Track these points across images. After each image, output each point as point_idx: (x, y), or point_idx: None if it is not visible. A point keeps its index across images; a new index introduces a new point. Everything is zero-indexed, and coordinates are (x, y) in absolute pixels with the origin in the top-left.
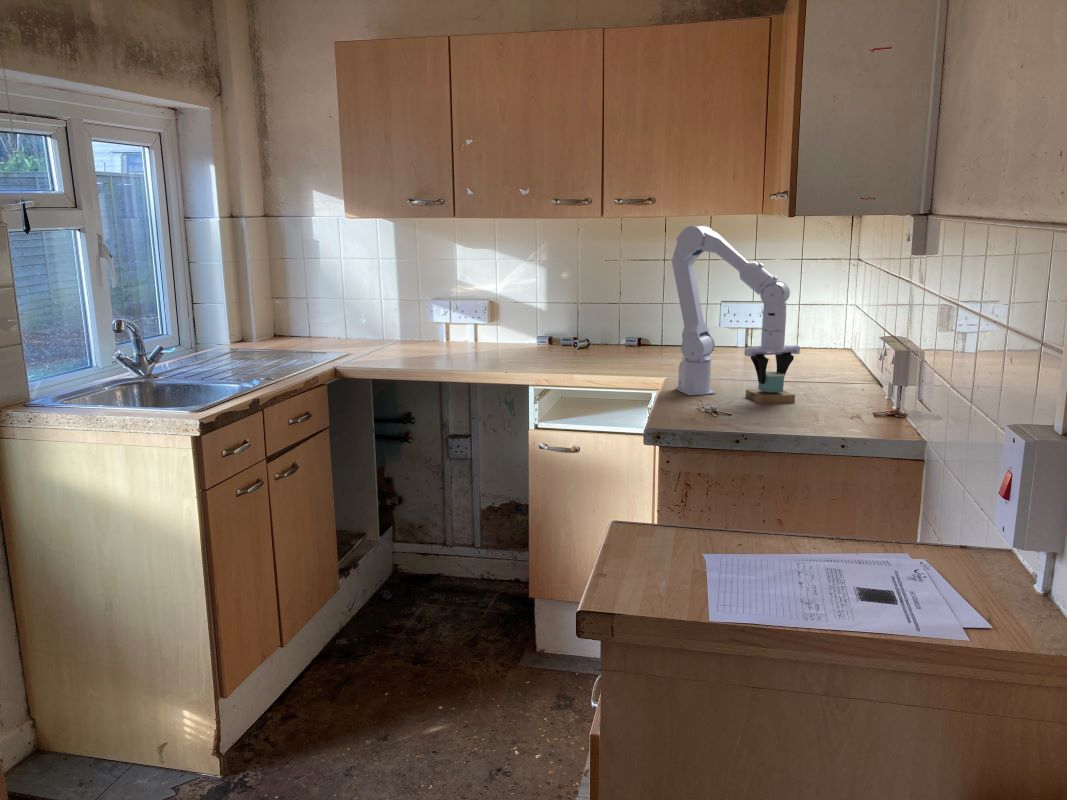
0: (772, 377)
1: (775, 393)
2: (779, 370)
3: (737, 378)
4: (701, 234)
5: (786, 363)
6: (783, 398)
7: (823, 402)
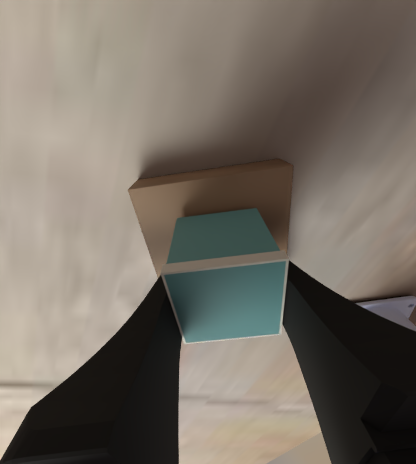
0: (246, 252)
1: None
2: (173, 332)
3: (199, 407)
4: None
5: (126, 358)
6: (186, 177)
7: (12, 172)
